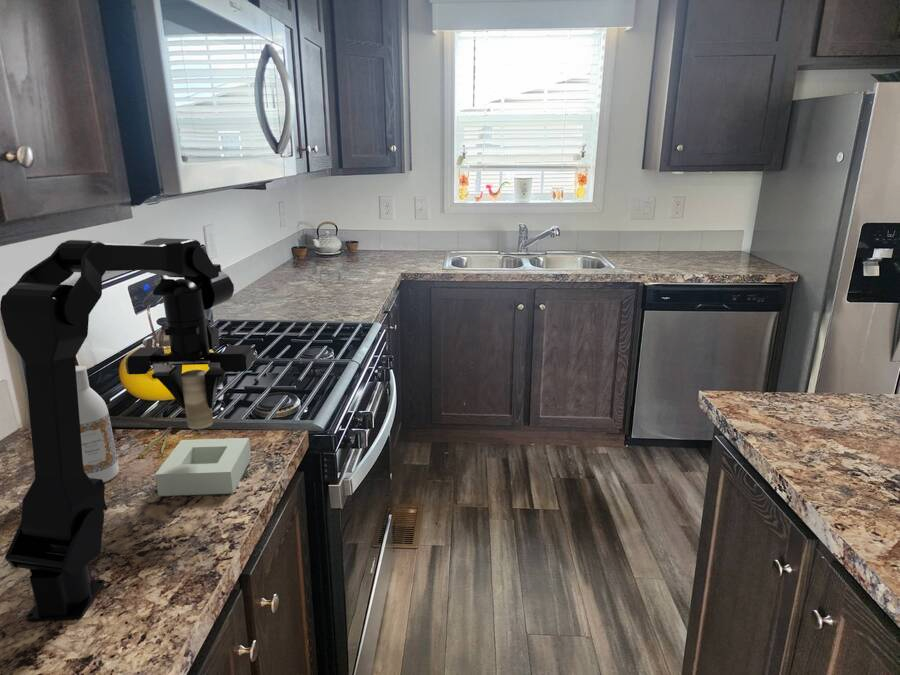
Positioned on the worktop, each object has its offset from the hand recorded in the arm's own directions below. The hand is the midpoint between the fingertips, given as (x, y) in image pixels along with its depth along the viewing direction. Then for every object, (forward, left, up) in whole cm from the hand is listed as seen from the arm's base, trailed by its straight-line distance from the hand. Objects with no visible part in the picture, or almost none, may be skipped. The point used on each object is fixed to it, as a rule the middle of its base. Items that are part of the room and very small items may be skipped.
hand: (198, 407), depth 101 cm
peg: (0, 0, -3) cm, 3 cm away
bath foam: (+1, +19, -13) cm, 23 cm away
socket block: (0, 0, -13) cm, 13 cm away
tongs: (+13, +13, -14) cm, 23 cm away
